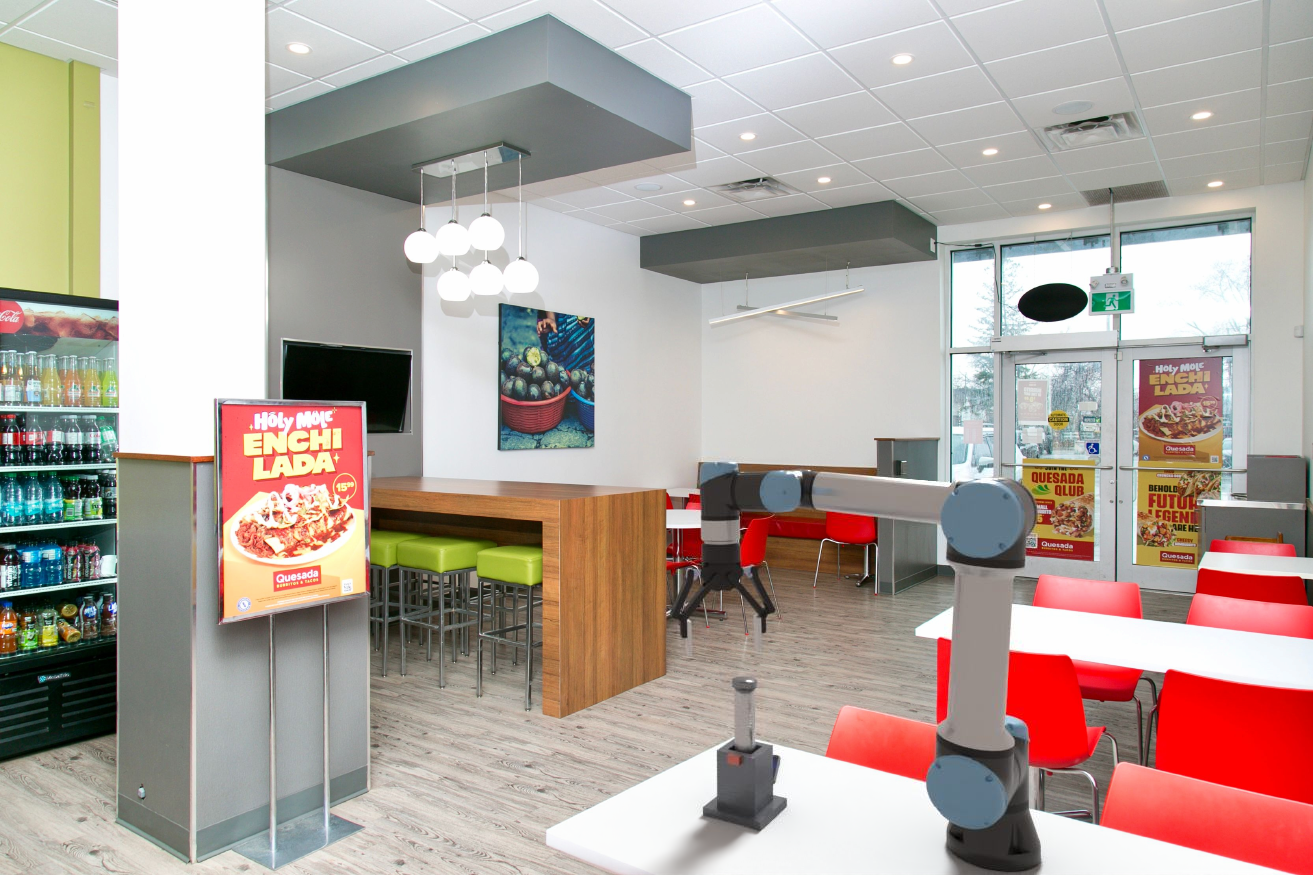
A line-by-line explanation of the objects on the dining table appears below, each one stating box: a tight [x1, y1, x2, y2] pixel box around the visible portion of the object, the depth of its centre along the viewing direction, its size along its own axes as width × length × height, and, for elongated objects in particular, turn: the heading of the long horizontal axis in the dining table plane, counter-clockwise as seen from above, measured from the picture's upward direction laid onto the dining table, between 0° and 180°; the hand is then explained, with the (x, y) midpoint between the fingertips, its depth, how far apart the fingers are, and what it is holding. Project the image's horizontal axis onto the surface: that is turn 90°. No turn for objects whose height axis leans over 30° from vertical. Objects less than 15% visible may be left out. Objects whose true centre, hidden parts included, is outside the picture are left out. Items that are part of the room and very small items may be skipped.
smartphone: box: [773, 754, 781, 785], centre depth 176 cm, size 7×1×15 cm
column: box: [731, 675, 758, 754], centre depth 156 cm, size 5×5×23 cm
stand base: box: [702, 737, 788, 832], centre depth 156 cm, size 12×12×12 cm
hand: (723, 652), depth 156 cm, fingers open, 13 cm apart
